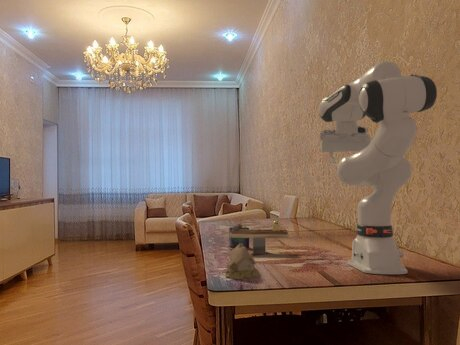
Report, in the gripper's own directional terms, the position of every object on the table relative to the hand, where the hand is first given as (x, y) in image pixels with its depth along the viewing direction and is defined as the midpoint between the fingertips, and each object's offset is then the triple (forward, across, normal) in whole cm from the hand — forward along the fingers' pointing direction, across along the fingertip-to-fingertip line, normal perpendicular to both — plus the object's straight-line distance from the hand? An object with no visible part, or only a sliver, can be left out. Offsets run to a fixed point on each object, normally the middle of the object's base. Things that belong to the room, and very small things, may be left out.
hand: (345, 162), depth 170 cm
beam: (+36, -36, -9) cm, 52 cm away
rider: (+28, -29, -8) cm, 42 cm away
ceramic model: (+32, -41, -48) cm, 71 cm away
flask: (+38, -46, +4) cm, 59 cm away
